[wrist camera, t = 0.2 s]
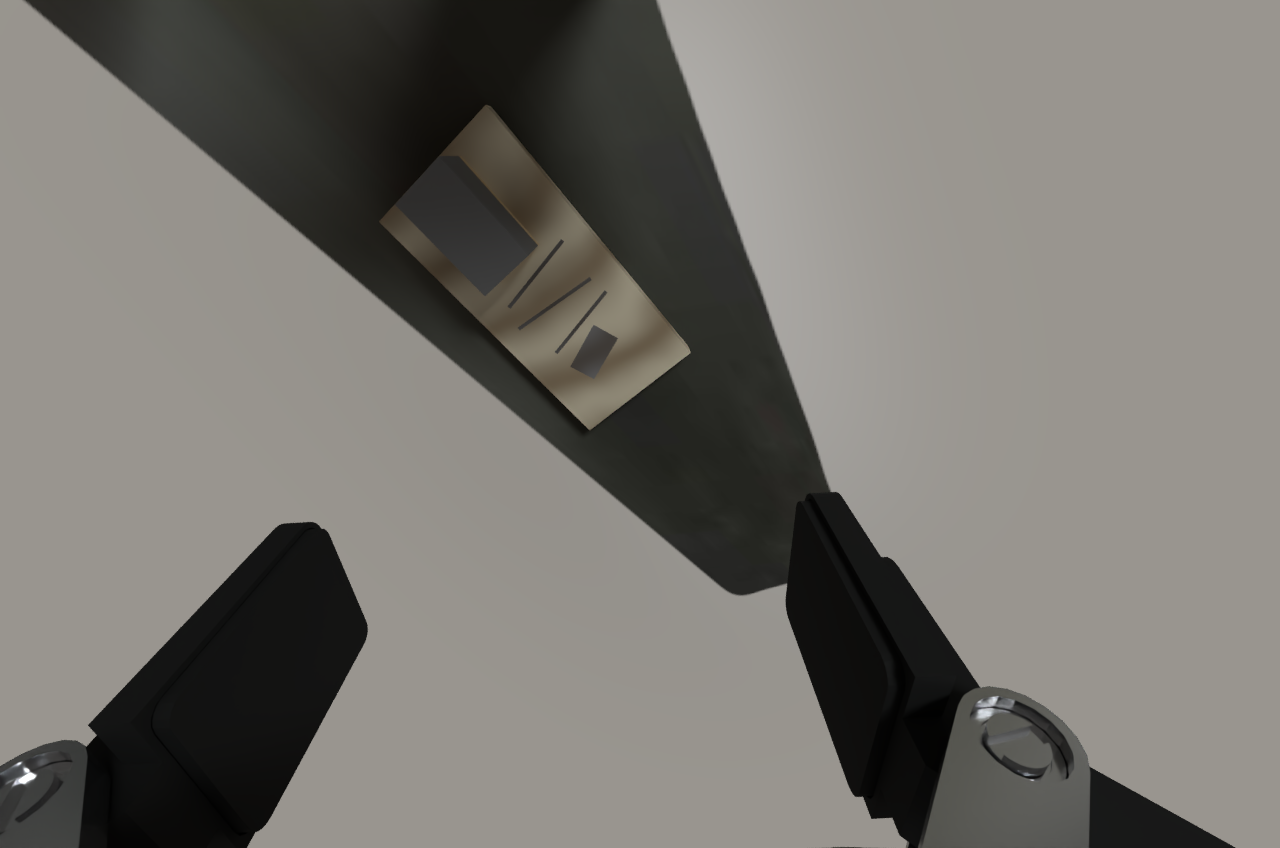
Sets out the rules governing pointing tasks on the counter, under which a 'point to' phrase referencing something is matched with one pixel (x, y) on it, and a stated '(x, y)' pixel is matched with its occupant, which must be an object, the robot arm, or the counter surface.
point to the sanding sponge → (467, 222)
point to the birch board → (553, 286)
